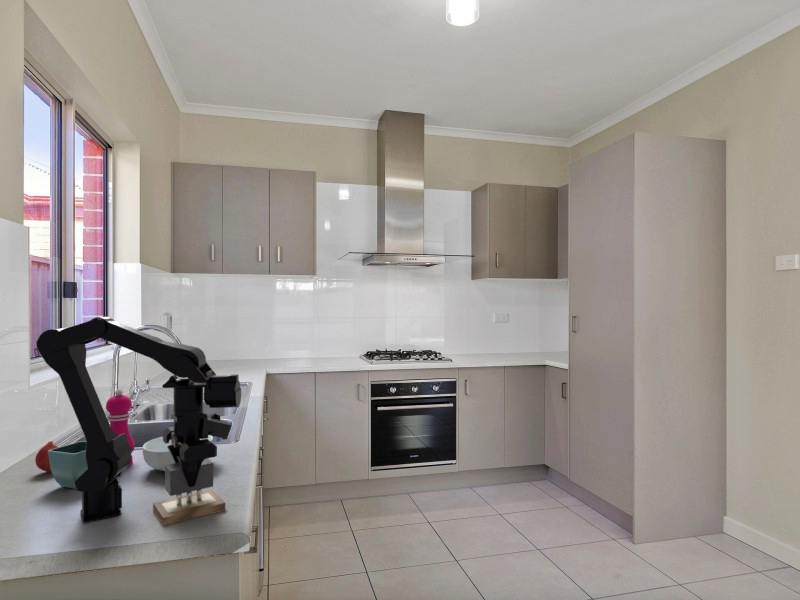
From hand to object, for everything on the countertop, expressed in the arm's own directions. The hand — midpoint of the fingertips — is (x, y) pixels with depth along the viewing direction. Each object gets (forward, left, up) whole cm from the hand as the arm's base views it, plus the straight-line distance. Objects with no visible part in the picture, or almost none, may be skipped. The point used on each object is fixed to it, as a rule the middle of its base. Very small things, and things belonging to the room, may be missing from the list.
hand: (188, 483), depth 106 cm
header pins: (0, 0, -4) cm, 4 cm away
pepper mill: (-7, +41, -6) cm, 42 cm away
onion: (-22, +45, -6) cm, 50 cm away
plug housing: (0, 0, -1) cm, 1 cm away
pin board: (0, 0, -6) cm, 6 cm away
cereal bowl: (+5, +29, -6) cm, 30 cm away
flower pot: (-17, +31, -6) cm, 36 cm away
